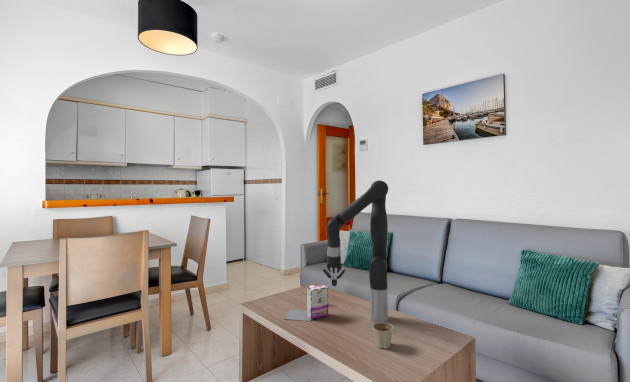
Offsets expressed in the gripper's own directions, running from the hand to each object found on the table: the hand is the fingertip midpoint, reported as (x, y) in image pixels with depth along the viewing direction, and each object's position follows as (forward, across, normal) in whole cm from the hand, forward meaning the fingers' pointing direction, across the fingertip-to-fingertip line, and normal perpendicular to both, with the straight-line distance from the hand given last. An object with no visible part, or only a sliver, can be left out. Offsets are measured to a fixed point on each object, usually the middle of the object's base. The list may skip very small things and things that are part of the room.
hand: (334, 285), depth 174 cm
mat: (+18, +20, 0) cm, 27 cm away
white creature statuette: (+18, +16, -18) cm, 30 cm away
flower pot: (+18, -26, +26) cm, 41 cm away
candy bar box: (+18, +10, 0) cm, 20 cm away
